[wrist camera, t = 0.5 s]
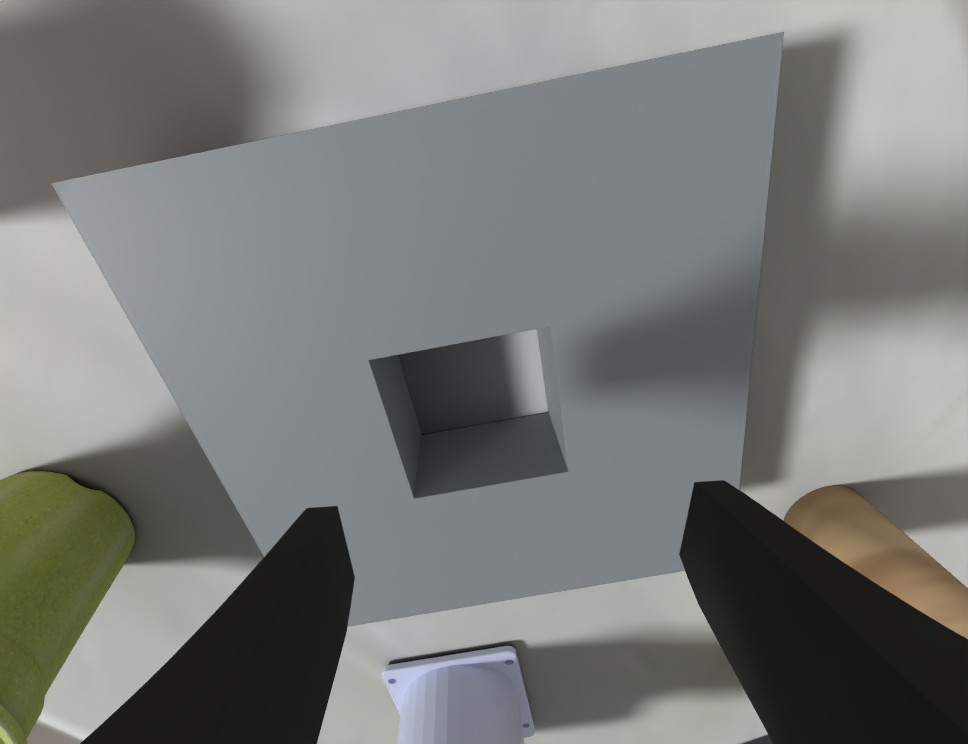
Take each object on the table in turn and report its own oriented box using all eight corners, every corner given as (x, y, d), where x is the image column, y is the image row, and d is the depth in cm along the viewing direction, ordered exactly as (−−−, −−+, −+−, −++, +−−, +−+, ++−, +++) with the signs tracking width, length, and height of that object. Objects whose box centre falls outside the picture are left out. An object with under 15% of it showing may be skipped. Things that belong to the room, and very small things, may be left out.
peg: (854, 537, 24) (1020, 701, 17) (778, 549, 24) (911, 718, 17) (869, 479, 22) (1062, 636, 15) (788, 493, 23) (941, 655, 15)
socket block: (688, 495, 22) (731, 562, 19) (331, 556, 23) (307, 633, 19) (701, 60, 14) (784, 32, 11) (149, 174, 15) (50, 183, 11)
